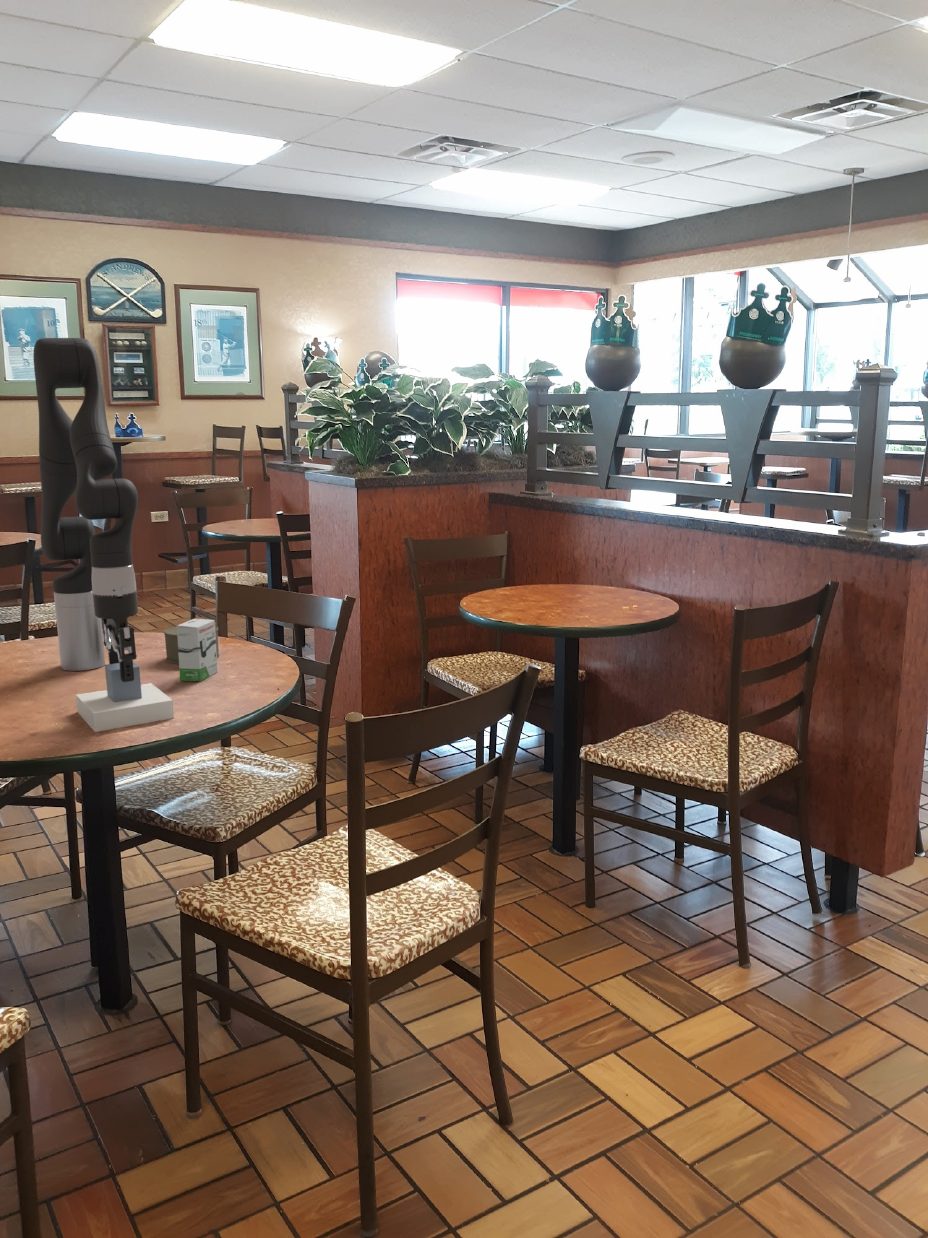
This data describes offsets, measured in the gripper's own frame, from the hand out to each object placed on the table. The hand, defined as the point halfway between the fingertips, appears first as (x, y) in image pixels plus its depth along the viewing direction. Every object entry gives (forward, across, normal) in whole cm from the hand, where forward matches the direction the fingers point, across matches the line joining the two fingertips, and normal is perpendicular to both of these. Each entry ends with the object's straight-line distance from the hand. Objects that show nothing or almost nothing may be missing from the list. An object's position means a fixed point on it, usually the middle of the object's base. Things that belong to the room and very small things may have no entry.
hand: (121, 675), depth 179 cm
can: (+8, -35, +24) cm, 43 cm away
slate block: (+4, 0, 0) cm, 4 cm away
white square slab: (+8, 0, 0) cm, 8 cm away
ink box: (+8, -19, +20) cm, 29 cm away
